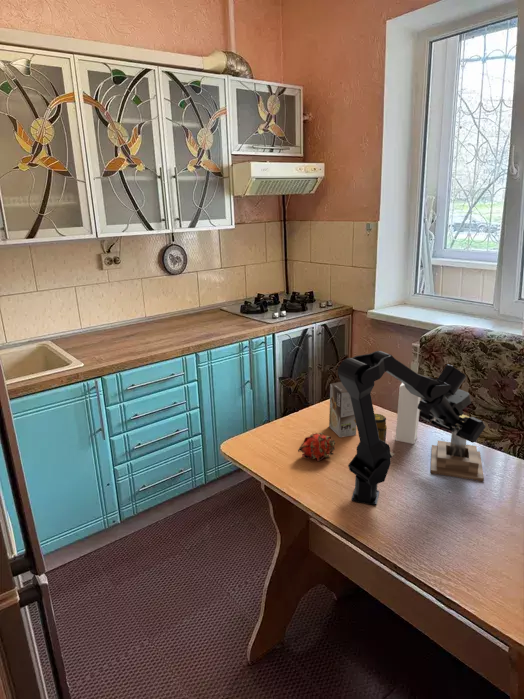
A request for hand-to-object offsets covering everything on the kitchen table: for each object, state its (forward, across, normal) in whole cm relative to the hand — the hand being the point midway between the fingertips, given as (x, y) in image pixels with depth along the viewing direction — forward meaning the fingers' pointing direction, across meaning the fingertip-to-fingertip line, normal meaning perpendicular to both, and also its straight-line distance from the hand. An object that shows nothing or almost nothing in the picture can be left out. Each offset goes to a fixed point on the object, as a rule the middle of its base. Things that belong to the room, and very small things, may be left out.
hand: (462, 433), depth 144 cm
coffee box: (-5, +34, +19) cm, 39 cm away
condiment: (-5, +17, +19) cm, 26 cm away
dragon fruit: (-18, +24, +32) cm, 43 cm away
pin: (+4, 0, +6) cm, 7 cm away
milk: (+5, +19, +8) cm, 22 cm away
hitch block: (+6, 0, +8) cm, 9 cm away
